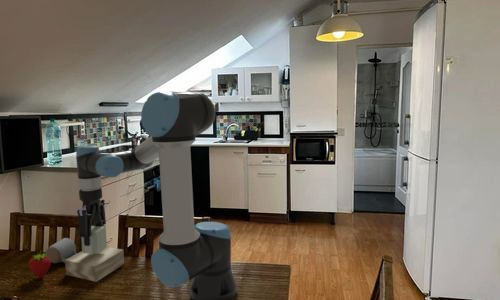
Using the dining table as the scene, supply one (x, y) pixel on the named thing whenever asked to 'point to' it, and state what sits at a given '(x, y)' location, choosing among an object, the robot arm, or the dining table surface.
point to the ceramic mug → (61, 250)
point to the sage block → (97, 239)
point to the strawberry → (40, 264)
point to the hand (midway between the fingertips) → (94, 248)
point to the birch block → (94, 264)
